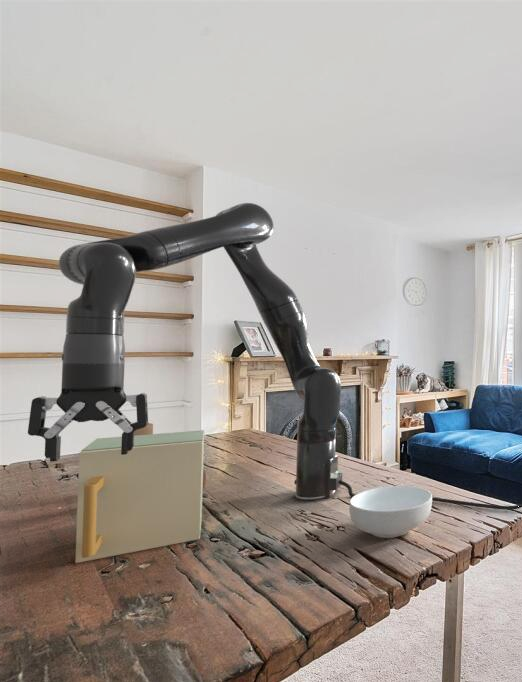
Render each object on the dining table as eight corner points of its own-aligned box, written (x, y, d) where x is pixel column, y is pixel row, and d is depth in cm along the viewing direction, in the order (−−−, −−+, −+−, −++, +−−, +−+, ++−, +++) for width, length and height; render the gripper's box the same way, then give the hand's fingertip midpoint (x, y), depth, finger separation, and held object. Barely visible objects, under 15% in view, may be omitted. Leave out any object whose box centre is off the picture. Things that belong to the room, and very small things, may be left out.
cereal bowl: (445, 521, 96) (446, 489, 96) (403, 554, 80) (404, 516, 80) (381, 510, 101) (382, 480, 101) (330, 540, 85) (331, 504, 86)
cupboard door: (198, 550, 80) (201, 447, 80) (65, 578, 70) (69, 459, 70) (199, 537, 86) (202, 440, 86) (76, 561, 76) (80, 451, 76)
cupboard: (199, 537, 86) (202, 439, 86) (77, 561, 76) (81, 450, 76) (201, 517, 96) (204, 430, 96) (93, 536, 86) (96, 438, 86)
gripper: (152, 360, 79) (149, 447, 79) (41, 360, 71) (37, 457, 71) (146, 361, 73) (143, 456, 73) (24, 361, 65) (20, 468, 65)
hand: (90, 457), depth 72 cm, fingers open, 8 cm apart
